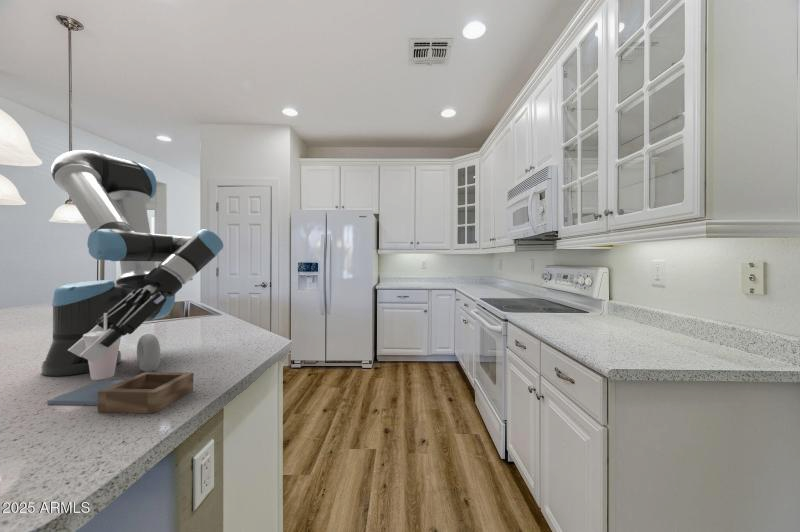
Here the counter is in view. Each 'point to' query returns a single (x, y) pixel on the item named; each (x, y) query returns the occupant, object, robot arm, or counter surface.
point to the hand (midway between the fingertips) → (80, 356)
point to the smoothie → (107, 360)
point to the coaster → (83, 394)
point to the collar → (145, 392)
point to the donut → (148, 353)
